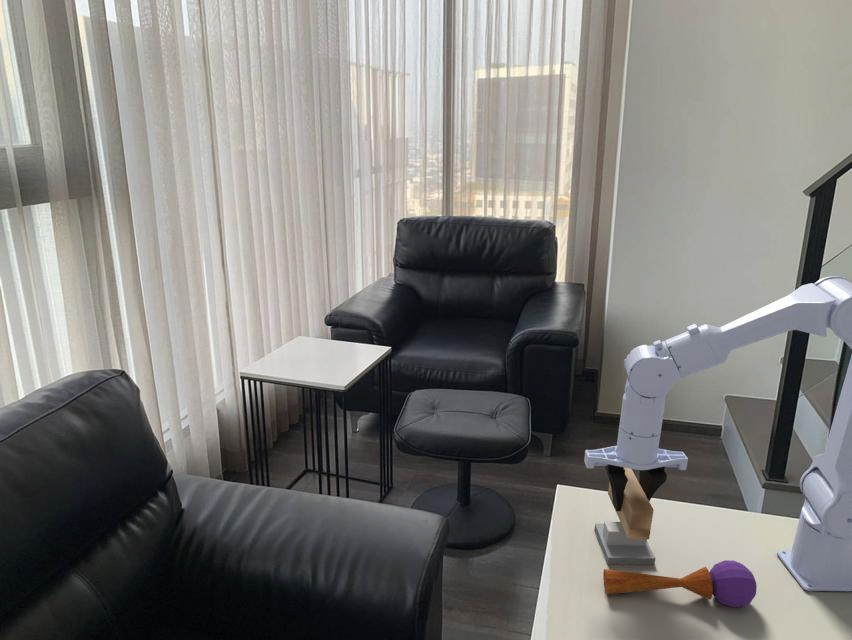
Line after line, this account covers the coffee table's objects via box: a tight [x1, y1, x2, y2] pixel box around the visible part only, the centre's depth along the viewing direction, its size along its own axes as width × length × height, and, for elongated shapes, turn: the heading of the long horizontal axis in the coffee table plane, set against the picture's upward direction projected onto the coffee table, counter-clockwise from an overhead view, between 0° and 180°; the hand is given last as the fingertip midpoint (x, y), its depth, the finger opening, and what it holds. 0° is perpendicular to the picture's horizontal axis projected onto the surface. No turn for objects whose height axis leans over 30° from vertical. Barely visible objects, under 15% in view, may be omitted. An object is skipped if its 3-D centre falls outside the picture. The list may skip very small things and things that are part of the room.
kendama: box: [602, 559, 757, 608], centre depth 88 cm, size 6×6×20 cm
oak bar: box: [607, 467, 654, 540], centre depth 96 cm, size 3×11×5 cm, turn 0°
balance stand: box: [593, 521, 656, 566], centre depth 98 cm, size 7×8×4 cm
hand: (628, 507), depth 96 cm, fingers closed on oak bar, 3 cm apart
